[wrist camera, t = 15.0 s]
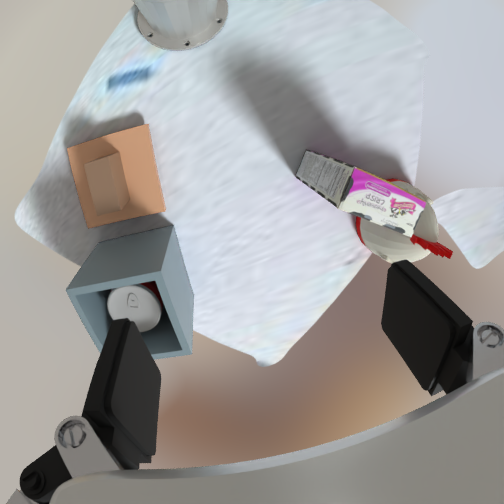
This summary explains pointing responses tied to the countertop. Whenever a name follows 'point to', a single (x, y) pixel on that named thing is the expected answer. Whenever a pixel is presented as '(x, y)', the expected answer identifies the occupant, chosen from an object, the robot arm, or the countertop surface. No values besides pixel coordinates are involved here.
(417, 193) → the kitchen timer
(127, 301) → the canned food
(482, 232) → the countertop surface
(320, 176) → the candy bar box
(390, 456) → the robot arm
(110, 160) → the lid
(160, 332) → the box
